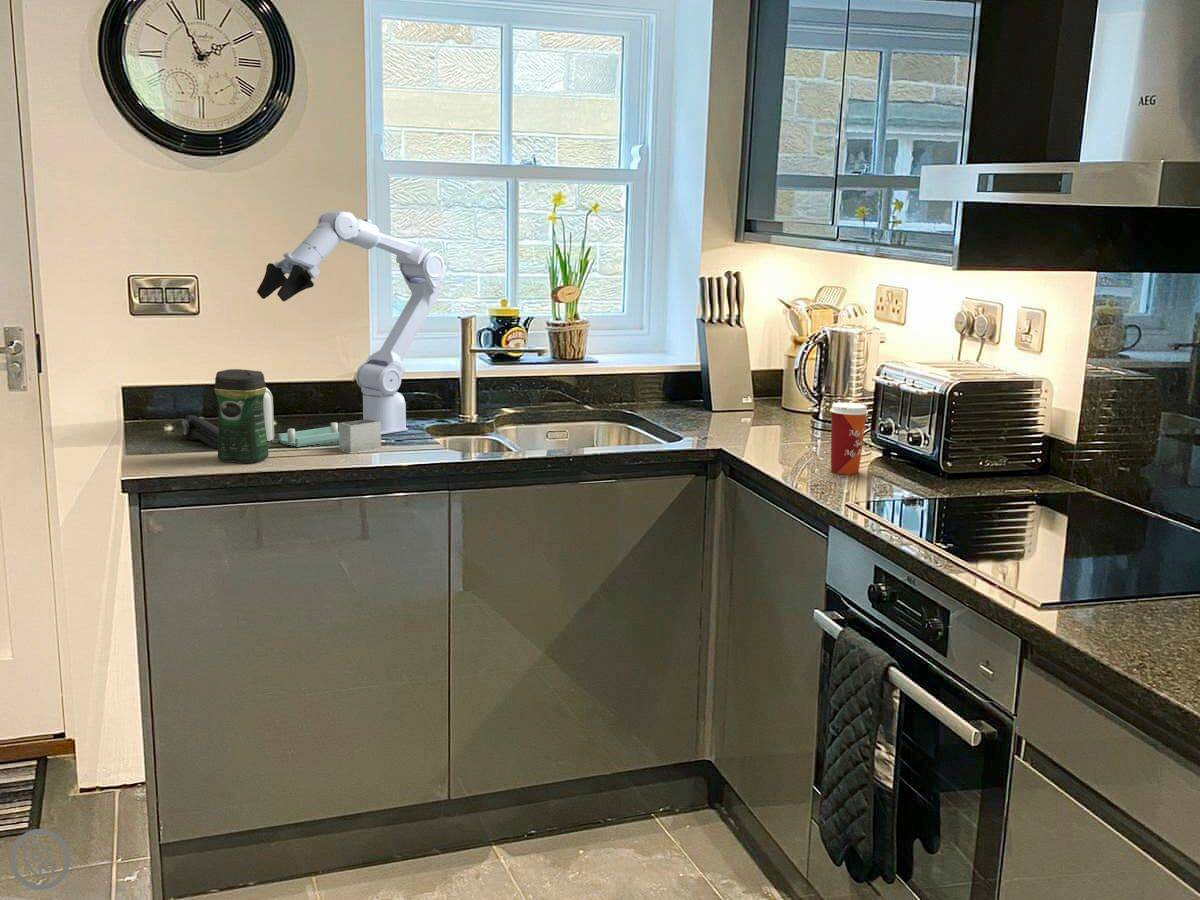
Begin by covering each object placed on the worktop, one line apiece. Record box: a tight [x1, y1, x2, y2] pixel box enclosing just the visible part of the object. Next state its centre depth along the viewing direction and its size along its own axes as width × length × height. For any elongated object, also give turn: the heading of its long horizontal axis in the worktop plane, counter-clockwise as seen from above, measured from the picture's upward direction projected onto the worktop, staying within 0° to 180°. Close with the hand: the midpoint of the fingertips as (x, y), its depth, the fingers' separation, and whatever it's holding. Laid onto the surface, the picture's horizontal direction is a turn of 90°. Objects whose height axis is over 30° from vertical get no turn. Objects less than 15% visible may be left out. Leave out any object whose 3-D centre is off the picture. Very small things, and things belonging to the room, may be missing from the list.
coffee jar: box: [214, 368, 269, 464], centre depth 235 cm, size 10×8×19 cm
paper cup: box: [829, 402, 869, 476], centre depth 239 cm, size 8×8×14 cm
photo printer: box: [263, 387, 275, 442], centre depth 257 cm, size 10×4×12 cm, turn 39°
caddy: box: [278, 422, 339, 447], centre depth 256 cm, size 13×7×4 cm, turn 138°
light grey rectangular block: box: [338, 419, 382, 453], centre depth 250 cm, size 8×4×6 cm, turn 138°
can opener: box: [181, 414, 219, 450], centre depth 252 cm, size 18×7×6 cm, turn 39°
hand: (270, 296), depth 243 cm, fingers open, 7 cm apart
